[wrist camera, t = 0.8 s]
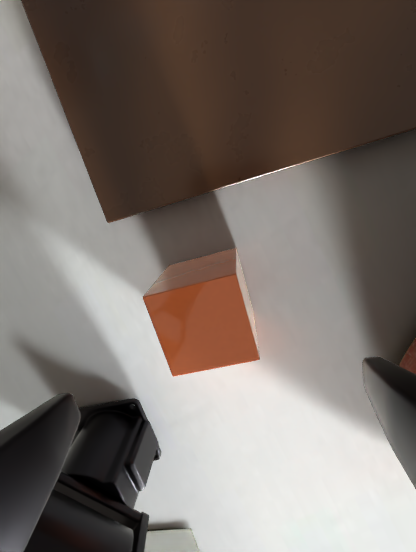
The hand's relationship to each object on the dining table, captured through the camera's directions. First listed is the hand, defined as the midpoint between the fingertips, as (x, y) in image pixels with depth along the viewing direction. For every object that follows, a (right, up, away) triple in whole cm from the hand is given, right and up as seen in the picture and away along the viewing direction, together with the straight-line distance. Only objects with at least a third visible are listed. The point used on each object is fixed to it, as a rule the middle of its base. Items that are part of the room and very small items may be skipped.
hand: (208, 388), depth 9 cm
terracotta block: (0, +2, +12) cm, 12 cm away
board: (+1, +16, +8) cm, 17 cm away
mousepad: (-12, -32, +25) cm, 42 cm away
